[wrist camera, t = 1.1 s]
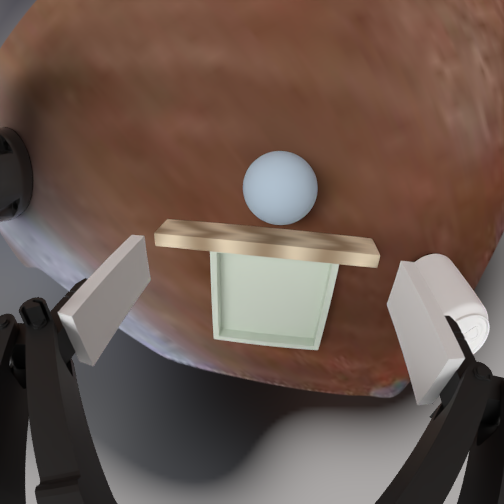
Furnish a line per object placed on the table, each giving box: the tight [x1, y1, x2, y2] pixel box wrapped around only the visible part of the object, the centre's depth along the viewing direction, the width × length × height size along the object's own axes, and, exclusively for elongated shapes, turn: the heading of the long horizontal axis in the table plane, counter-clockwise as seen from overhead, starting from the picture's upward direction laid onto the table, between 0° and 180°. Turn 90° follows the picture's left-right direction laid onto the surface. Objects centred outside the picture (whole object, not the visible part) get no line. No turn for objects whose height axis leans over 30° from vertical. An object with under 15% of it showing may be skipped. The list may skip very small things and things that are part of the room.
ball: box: [243, 151, 318, 225], centre depth 28 cm, size 7×7×7 cm
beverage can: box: [414, 254, 490, 354], centre depth 29 cm, size 8×8×12 cm
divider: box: [154, 219, 380, 268], centre depth 32 cm, size 24×2×4 cm, turn 87°
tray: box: [210, 251, 339, 350], centre depth 37 cm, size 14×14×2 cm
